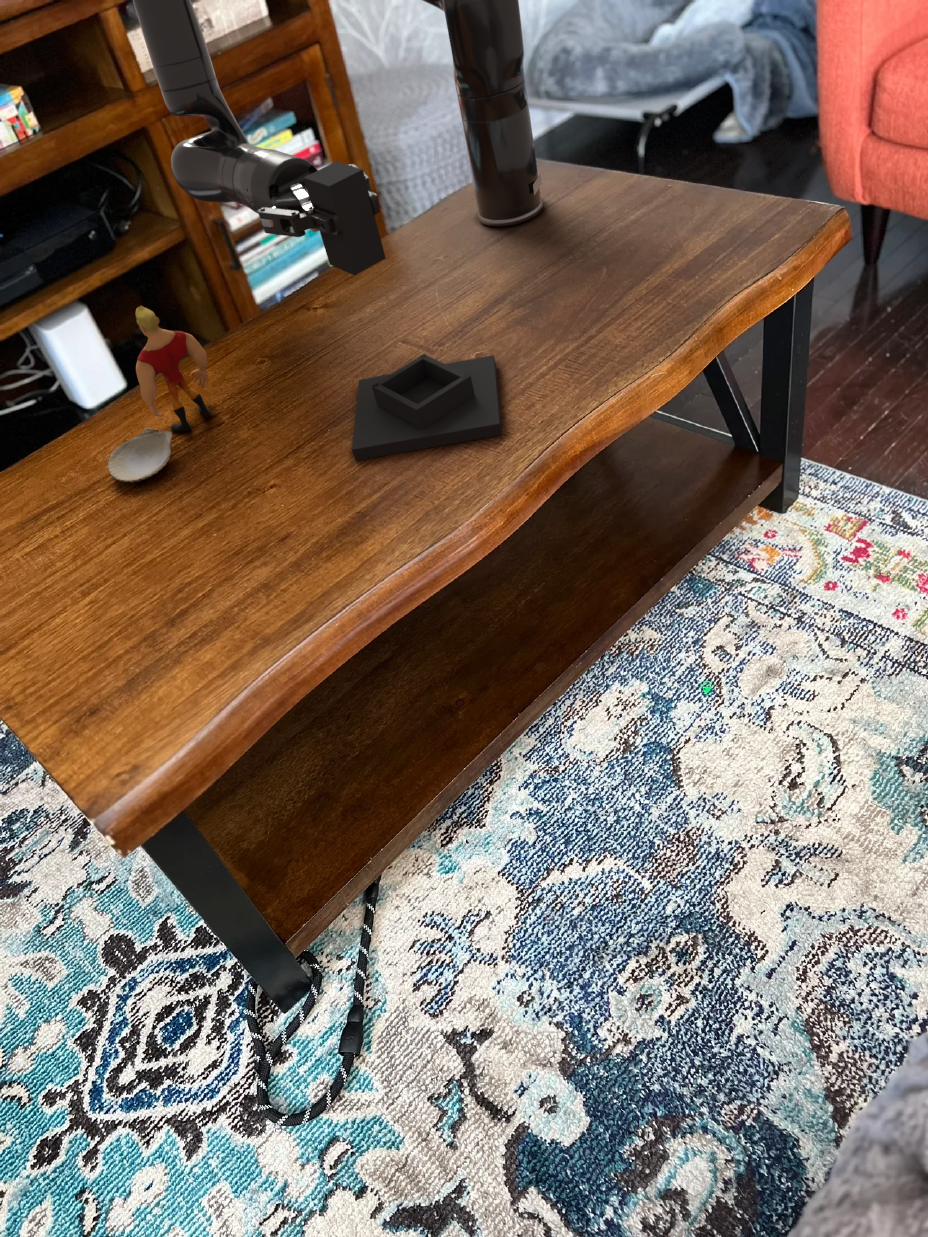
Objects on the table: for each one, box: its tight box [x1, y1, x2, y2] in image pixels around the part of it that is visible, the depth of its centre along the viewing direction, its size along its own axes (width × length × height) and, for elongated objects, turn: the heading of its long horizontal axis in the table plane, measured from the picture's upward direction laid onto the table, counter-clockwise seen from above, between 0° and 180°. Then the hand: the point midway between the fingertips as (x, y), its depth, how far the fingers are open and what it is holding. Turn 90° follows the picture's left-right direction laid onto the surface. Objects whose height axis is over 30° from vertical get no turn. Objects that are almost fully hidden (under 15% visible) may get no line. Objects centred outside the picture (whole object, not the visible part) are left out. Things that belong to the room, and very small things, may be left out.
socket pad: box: [351, 353, 503, 461], centre depth 106 cm, size 14×16×4 cm
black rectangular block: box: [304, 161, 386, 276], centre depth 106 cm, size 5×4×10 cm
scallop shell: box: [106, 428, 173, 484], centre depth 109 cm, size 8×3×8 cm
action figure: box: [135, 305, 211, 432], centre depth 110 cm, size 10×4×15 cm, turn 139°
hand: (356, 214), depth 104 cm, fingers closed on black rectangular block, 4 cm apart
